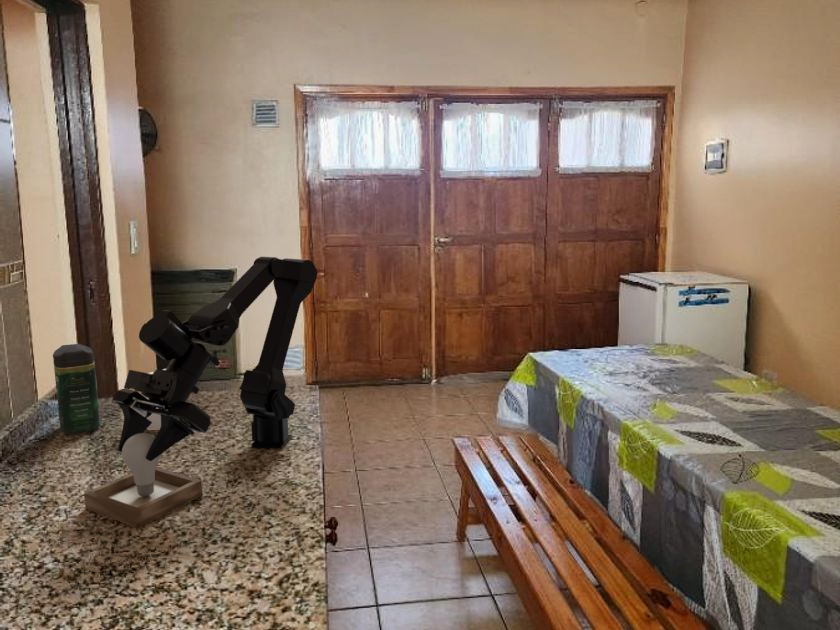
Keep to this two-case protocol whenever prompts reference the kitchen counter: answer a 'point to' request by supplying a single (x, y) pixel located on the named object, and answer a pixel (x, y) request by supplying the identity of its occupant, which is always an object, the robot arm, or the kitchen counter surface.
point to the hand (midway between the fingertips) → (134, 455)
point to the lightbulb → (140, 462)
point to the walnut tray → (138, 510)
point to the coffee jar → (76, 389)
